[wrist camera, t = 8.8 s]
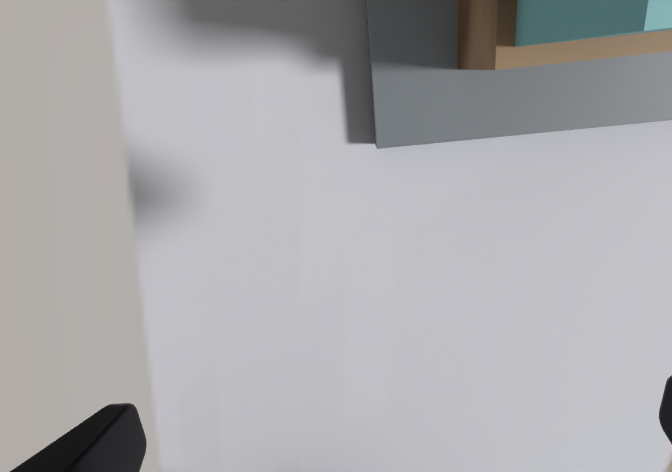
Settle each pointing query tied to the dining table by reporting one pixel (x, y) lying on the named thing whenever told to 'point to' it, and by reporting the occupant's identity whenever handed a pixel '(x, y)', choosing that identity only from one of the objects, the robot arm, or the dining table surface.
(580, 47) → the walnut base block
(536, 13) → the teal cube
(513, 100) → the slate board
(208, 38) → the dining table surface
